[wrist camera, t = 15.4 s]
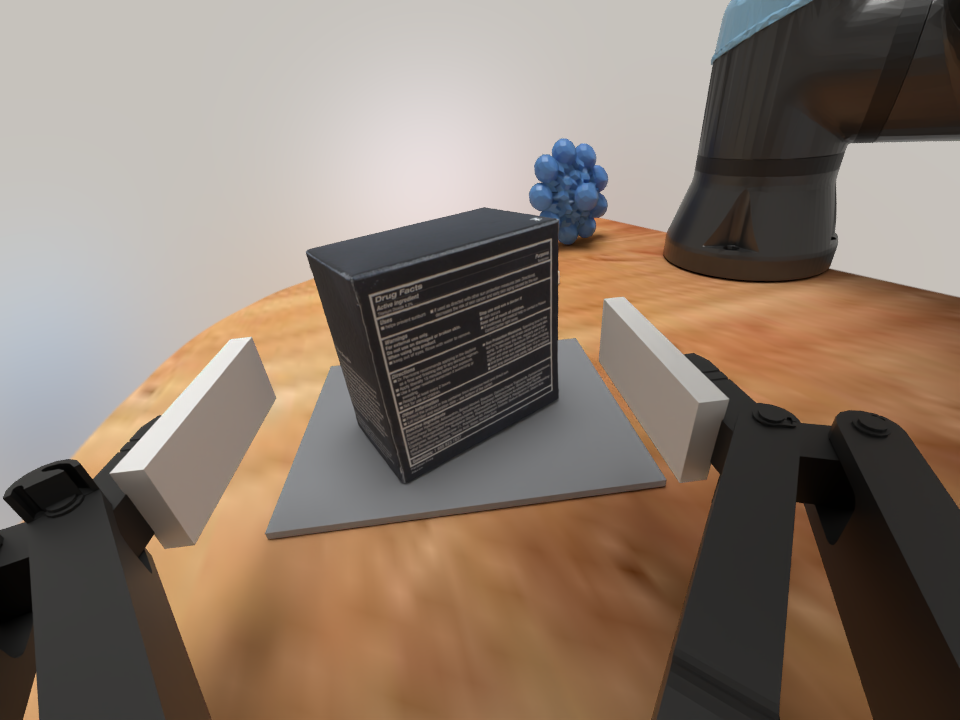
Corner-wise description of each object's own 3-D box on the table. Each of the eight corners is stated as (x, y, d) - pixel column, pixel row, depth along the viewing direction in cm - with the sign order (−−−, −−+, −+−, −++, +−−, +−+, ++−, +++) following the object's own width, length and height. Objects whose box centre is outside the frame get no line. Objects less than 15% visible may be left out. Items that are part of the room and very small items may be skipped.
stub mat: (575, 343, 31) (575, 338, 31) (665, 486, 19) (666, 480, 19) (332, 371, 30) (330, 366, 30) (268, 539, 18) (264, 533, 18)
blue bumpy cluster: (554, 262, 47) (555, 143, 41) (519, 250, 52) (516, 142, 46) (628, 241, 52) (639, 132, 46) (589, 231, 57) (595, 132, 51)
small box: (495, 358, 29) (485, 201, 24) (563, 400, 25) (569, 217, 19) (352, 422, 24) (299, 242, 19) (403, 489, 20) (351, 277, 14)
